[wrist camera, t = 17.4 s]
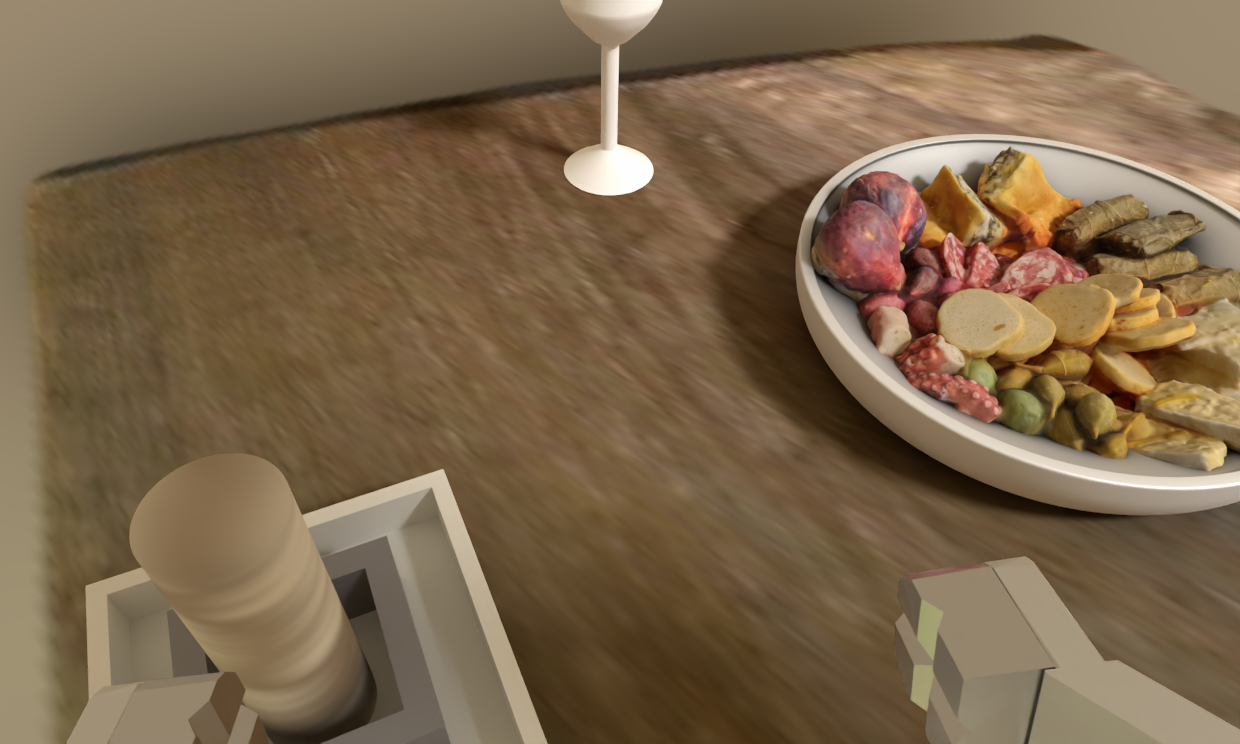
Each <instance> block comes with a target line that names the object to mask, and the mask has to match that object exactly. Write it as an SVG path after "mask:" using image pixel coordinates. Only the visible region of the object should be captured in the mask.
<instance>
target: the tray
mask: <svg viewBox="0 0 1240 744" xmlns="http://www.w3.org/2000/svg"><path fill="white" fill-rule="evenodd" d="M302 516H303V519H304V521H305V523H306V525H307V527H308V530H309V532H310V534H311V536H312V539H313V541H314V543H315V545H316V548H317V550H318V552H319V554H320V557H321V559H322V561H323V563H324V566H325V568H326V570H327V572H328V575H329V577H330V579H331V581H332V584H333V586H334V588H335V590H336V593H337V595H338V597H339V599H340V602H341V604H342V606H343V608H344V611H345V613H346V615H347V617H348V620H349V622H350V624H351V626H352V629H353V631H354V633H355V635H356V637H357V640H358V642H359V644H360V646H361V649H362V651H363V653H364V655H365V658H366V660H367V662H368V664H369V667H370V669H371V671H372V673H373V676H374V679H375V682H376V687H377V699H376V705H375V709H374V712H373V714H372V717H371V719H370V721H369V723H368V724H367V725H365V726H363V727H360V728H358V729H355V730H353V731H350V732H348V733H345V734H343V735H340V736H338V737H336V738H333V739H331V740H328V741H326V742H323V743H321V744H547V741H546V738H545V736H544V733H543V730H542V728H541V725H540V722H539V720H538V717H537V715H536V712H535V709H534V707H533V704H532V701H531V699H530V696H529V693H528V691H527V688H526V686H525V683H524V680H523V678H522V675H521V672H520V670H519V667H518V664H517V662H516V659H515V657H514V654H513V651H512V649H511V646H510V643H509V641H508V638H507V635H506V633H505V630H504V628H503V625H502V622H501V620H500V617H499V614H498V612H497V609H496V606H495V604H494V601H493V598H492V596H491V593H490V591H489V588H488V585H487V583H486V580H485V577H484V575H483V572H482V569H481V567H480V564H479V562H478V559H477V556H476V554H475V551H474V548H473V546H472V543H471V540H470V538H469V535H468V533H467V530H466V527H465V525H464V522H463V519H462V517H461V514H460V511H459V509H458V506H457V504H456V501H455V498H454V496H453V493H452V490H451V488H450V485H449V482H448V480H447V477H446V474H445V472H444V469H441V470H438V471H435V472H432V473H429V474H426V475H423V476H420V477H417V478H414V479H411V480H408V481H405V482H402V483H398V484H395V485H392V486H389V487H386V488H383V489H380V490H377V491H374V492H371V493H368V494H365V495H362V496H359V497H356V498H353V499H350V500H346V501H343V502H340V503H337V504H334V505H331V506H328V507H325V508H322V509H319V510H316V511H313V512H310V513H307V514H304V515H302ZM86 620H87V655H88V689H89V699H90V698H91V697H92V696H93V695H94V694H95V693H96V692H98V691H99V690H100V689H101V688H102V687H104V686H112V685H120V684H129V683H137V682H144V681H149V680H158V679H166V678H175V677H184V676H192V675H201V674H209V673H218V672H220V671H219V670H218V668H217V667H216V666H215V664H214V663H213V662H212V660H211V659H210V658H209V656H208V655H207V654H206V652H205V651H204V650H203V648H202V647H201V646H200V644H199V643H198V642H197V640H196V639H195V638H194V636H193V635H192V634H191V632H190V631H189V630H188V628H187V627H186V626H185V624H184V623H183V622H182V620H181V619H180V618H179V616H178V615H177V614H176V612H175V611H174V610H173V608H172V607H171V606H170V604H169V603H168V602H167V600H166V599H165V598H164V596H163V595H162V594H161V592H160V591H159V590H158V588H157V587H156V586H155V584H154V583H153V582H152V580H151V579H150V578H149V576H148V575H147V574H146V572H145V571H144V570H143V568H142V567H141V568H138V569H135V570H132V571H129V572H126V573H123V574H120V575H117V576H114V577H111V578H108V579H105V580H102V581H99V582H95V583H92V584H89V585H86ZM241 705H243V706H245V704H244V703H243V702H242V703H241ZM245 707H246V706H245ZM266 736H267V741H268V744H274V743H273V742H272V741H271V739H270V738H269V737H268V735H267V734H266Z"/></svg>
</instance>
